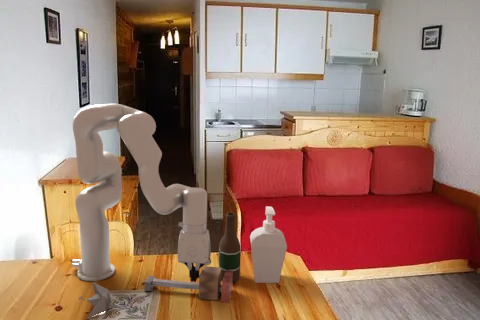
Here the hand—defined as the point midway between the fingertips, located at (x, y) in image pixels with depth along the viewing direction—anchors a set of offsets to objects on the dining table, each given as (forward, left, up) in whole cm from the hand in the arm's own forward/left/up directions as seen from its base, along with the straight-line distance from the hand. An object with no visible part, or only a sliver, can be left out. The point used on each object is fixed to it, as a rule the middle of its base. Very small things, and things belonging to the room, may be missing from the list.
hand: (194, 279), depth 130 cm
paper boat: (-27, -14, -5) cm, 31 cm away
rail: (-2, 0, -5) cm, 5 cm away
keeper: (+5, 0, -5) cm, 7 cm away
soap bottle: (+23, +15, -5) cm, 28 cm away
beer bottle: (+10, +12, -5) cm, 16 cm away
